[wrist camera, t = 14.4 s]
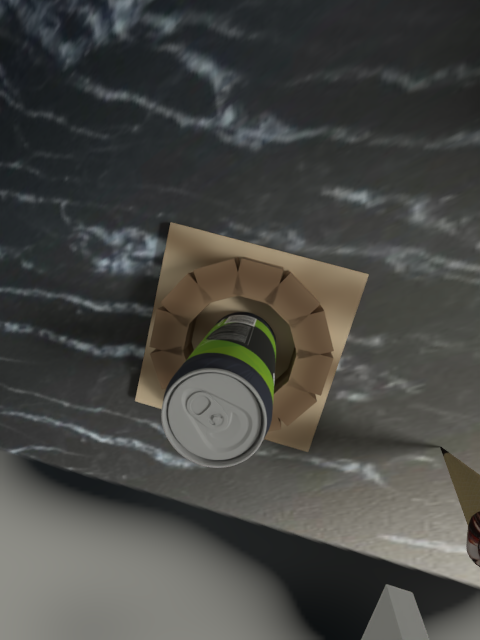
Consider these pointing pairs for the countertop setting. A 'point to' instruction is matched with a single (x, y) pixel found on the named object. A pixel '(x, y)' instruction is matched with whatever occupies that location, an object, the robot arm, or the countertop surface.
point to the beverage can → (223, 393)
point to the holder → (262, 300)
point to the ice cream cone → (467, 500)
